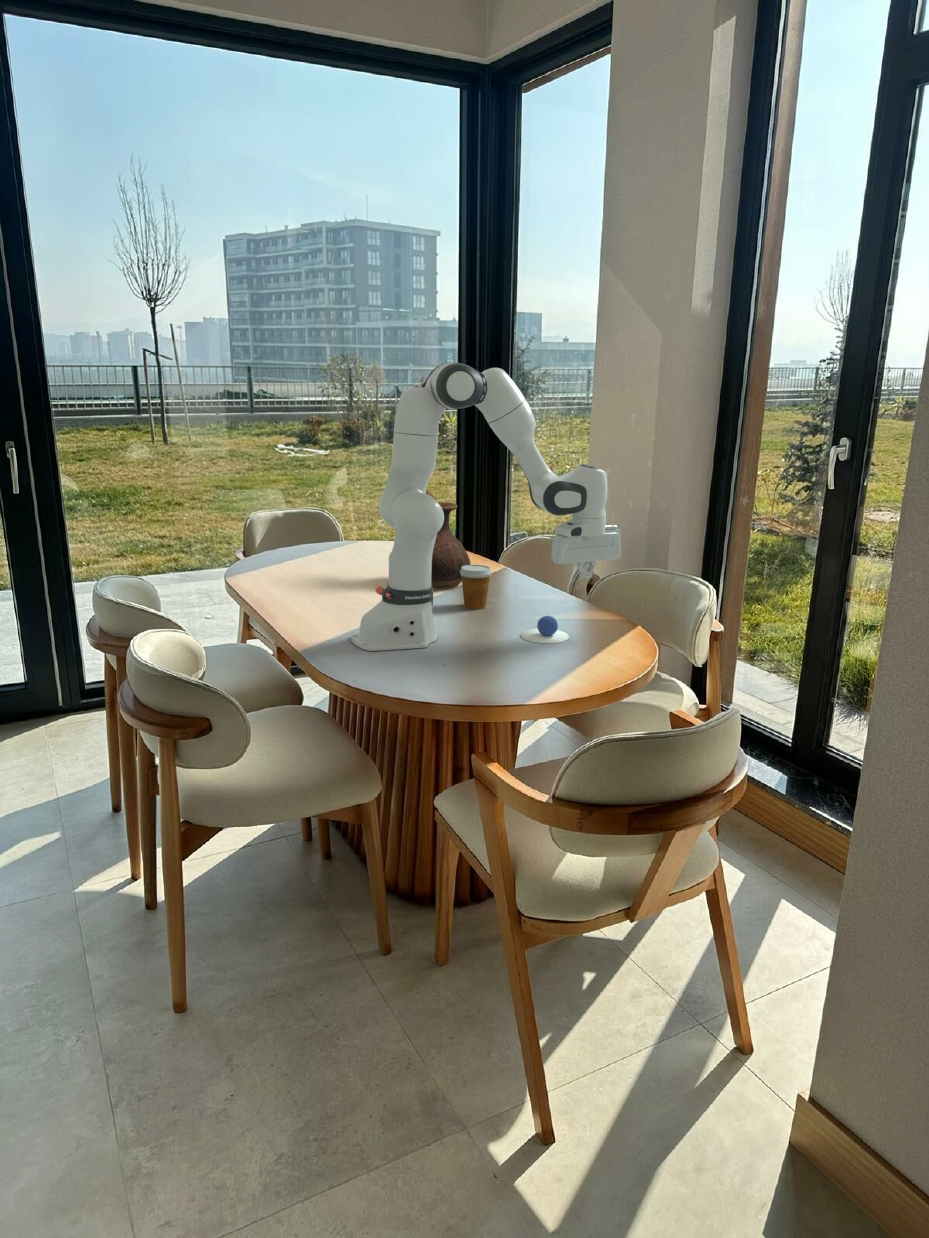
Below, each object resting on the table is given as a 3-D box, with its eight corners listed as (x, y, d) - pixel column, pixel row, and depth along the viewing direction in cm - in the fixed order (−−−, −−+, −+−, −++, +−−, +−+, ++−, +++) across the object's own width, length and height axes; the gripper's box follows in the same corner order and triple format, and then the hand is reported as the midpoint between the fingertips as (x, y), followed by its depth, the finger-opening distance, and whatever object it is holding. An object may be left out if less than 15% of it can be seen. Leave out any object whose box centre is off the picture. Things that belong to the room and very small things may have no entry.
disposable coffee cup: (463, 611, 255) (464, 571, 252) (455, 603, 264) (456, 564, 260) (494, 610, 257) (496, 570, 254) (485, 601, 266) (486, 563, 263)
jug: (473, 578, 296) (475, 490, 288) (467, 593, 276) (469, 499, 267) (410, 575, 298) (410, 488, 290) (399, 590, 278) (399, 497, 269)
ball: (552, 614, 229) (565, 626, 232) (542, 609, 234) (555, 621, 236) (539, 630, 229) (552, 642, 231) (529, 625, 234) (543, 637, 236)
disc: (535, 645, 224) (535, 645, 224) (511, 632, 236) (511, 631, 236) (578, 640, 230) (578, 639, 230) (552, 627, 241) (552, 626, 241)
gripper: (614, 522, 237) (610, 572, 241) (549, 527, 228) (547, 578, 232) (627, 526, 232) (624, 576, 235) (562, 531, 223) (559, 583, 227)
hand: (585, 577), depth 234 cm, fingers closed
